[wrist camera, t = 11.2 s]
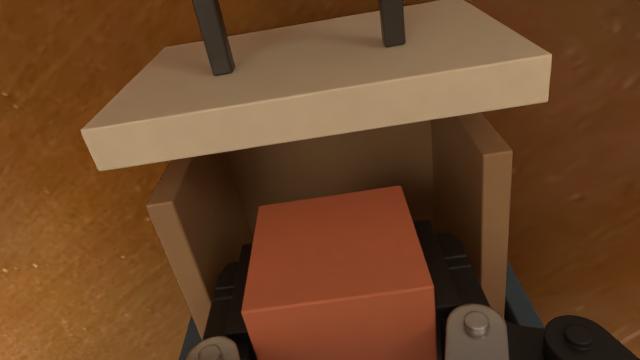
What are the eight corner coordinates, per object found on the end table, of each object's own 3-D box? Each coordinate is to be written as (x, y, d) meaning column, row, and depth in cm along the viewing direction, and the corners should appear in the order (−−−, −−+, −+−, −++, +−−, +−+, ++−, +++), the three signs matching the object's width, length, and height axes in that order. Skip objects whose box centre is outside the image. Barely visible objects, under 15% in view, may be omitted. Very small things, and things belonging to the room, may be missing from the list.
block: (258, 205, 14) (239, 312, 10) (400, 184, 13) (434, 286, 10) (286, 307, 16) (279, 426, 12) (410, 290, 16) (440, 407, 12)
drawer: (123, -78, 16) (-13, -65, 9) (458, -142, 15) (574, -178, 9) (246, 298, 25) (223, 443, 18) (462, 269, 24) (520, 409, 18)
